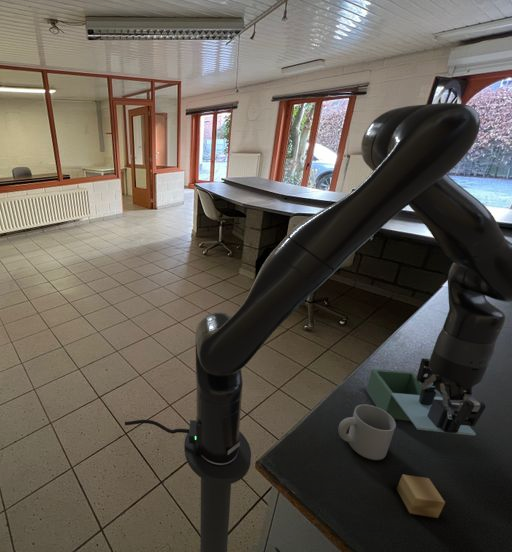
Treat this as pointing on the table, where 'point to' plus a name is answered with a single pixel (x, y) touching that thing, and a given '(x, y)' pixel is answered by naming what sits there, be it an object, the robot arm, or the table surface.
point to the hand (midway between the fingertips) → (435, 416)
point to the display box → (392, 390)
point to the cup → (368, 431)
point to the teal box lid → (427, 413)
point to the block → (420, 496)
